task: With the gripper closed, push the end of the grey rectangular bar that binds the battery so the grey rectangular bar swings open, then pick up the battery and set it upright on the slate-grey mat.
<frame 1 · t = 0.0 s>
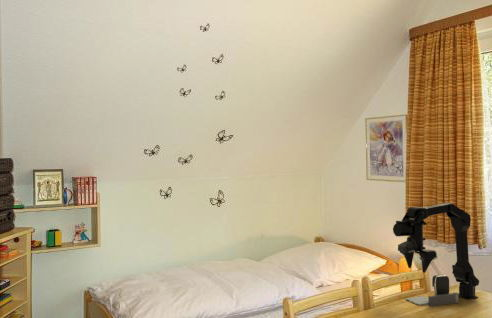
hand: (416, 270, 187), 15 cm above the table, tool pointing down, fingers open, 9 cm apart
mat: (421, 301, 189), on the table
battery: (440, 300, 190), on the table
grey rectangular bar: (443, 299, 185), point 2 cm above the table, hinge at 0.0°
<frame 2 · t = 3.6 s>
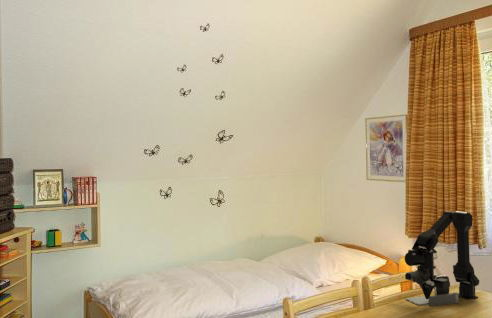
hand: (427, 299, 184), 2 cm above the table, tool pointing down, fingers closed
grey rectangular bar: (443, 299, 185), point 2 cm above the table, hinge at 0.2°, touching gripper
everything else where it was.
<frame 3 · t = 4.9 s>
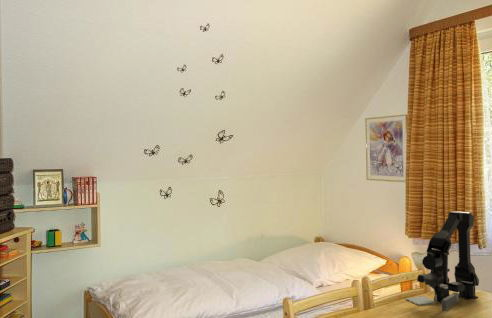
hand: (439, 302, 179), 3 cm above the table, tool pointing down, fingers closed
grey rectangular bar: (450, 301, 182), point 2 cm above the table, hinge at 26.8°, touching gripper
everything else where it was.
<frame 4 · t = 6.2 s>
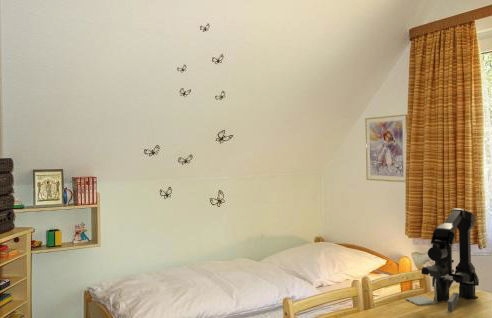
hand: (445, 294, 177), 7 cm above the table, tool pointing down, fingers closed
grey rectangular bar: (452, 301, 182), point 2 cm above the table, hinge at 36.8°
everything else where it was.
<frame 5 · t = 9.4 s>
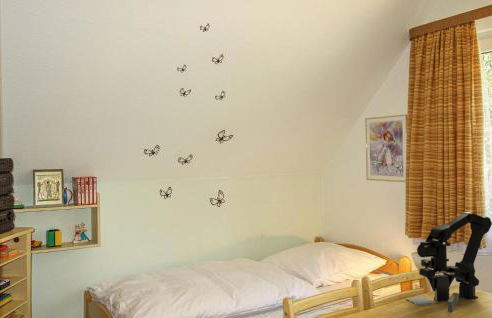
hand: (440, 290, 191), 5 cm above the table, tool pointing down, fingers closed on battery, 7 cm apart
battery: (440, 300, 190), on the table, touching gripper
everything else where it was.
when the fingers open (7 cm above the table, at t = 13.5 s): battery drops 1 cm, resting on mat.
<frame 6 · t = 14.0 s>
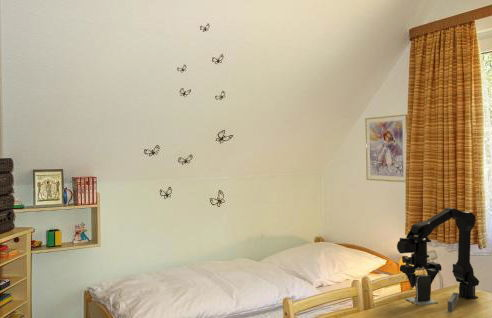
hand: (421, 286, 189), 7 cm above the table, tool pointing down, fingers open, 9 cm apart
battery: (421, 300, 189), resting on mat
everything else where it was.
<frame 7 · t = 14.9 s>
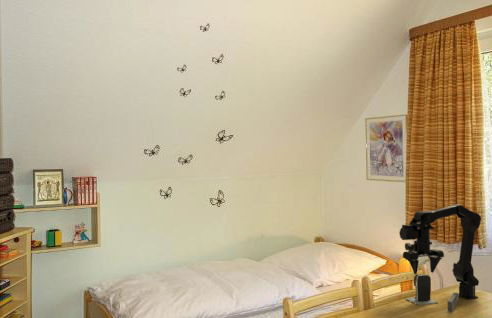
hand: (423, 273, 191), 12 cm above the table, tool pointing down, fingers open, 9 cm apart
battery: (421, 300, 189), point 1 cm above the table, touching gripper, mat
everything else where it was.
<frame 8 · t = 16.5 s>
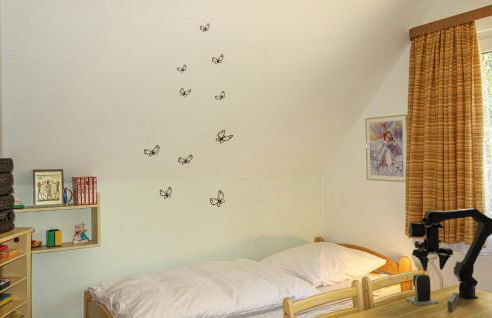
hand: (433, 270, 197), 12 cm above the table, tool pointing down, fingers open, 9 cm apart
battery: (422, 300, 189), resting on mat
everything else where it was.
at the end: grey rectangular bar at +37° (first picture: +0°); battery 0.4 cm off-centre on the mat, point 0.4 cm above the mat's base; battery tilted 1° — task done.
